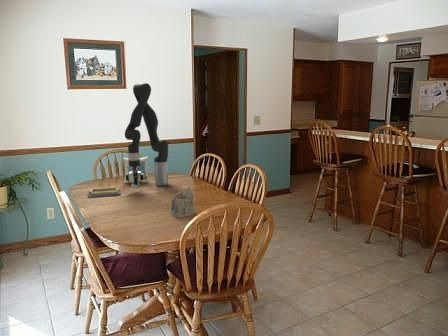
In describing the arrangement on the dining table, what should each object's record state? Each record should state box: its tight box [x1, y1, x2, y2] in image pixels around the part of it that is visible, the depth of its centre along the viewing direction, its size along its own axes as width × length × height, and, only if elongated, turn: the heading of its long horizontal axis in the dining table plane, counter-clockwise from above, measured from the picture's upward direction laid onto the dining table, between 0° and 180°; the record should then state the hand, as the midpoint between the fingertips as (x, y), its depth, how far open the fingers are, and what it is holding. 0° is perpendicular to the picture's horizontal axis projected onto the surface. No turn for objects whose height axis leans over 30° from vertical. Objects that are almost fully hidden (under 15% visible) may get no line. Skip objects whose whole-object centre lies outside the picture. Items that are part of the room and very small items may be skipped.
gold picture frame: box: [87, 186, 122, 199], centre depth 253 cm, size 20×14×3 cm
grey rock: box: [169, 186, 196, 218], centre depth 211 cm, size 16×16×15 cm
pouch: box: [122, 155, 150, 184], centre depth 286 cm, size 8×19×20 cm, turn 101°
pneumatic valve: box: [126, 172, 144, 189], centre depth 258 cm, size 6×12×12 cm, turn 94°
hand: (135, 183), depth 258 cm, fingers closed on pneumatic valve, 5 cm apart
